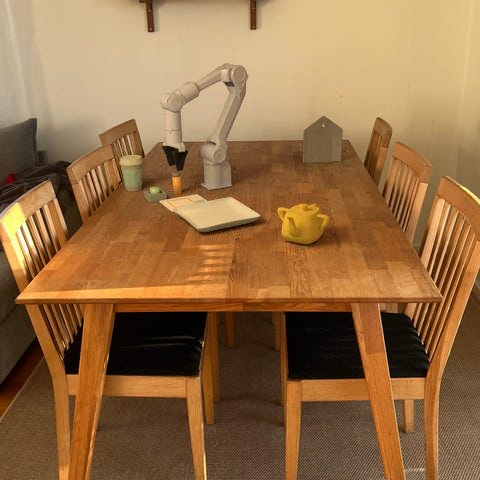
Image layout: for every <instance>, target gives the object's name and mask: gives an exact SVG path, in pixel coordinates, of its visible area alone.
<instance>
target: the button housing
mask: <svg viewBox="0 0 480 480" xmlns="http://www.w3.org/2000/svg"><path fill="white" fill-rule="evenodd" d="M143 195H144V199H145V200H147V202H148V203H156V202H160V201H161V200H167V198H168V196H167V192H165V191H164V190H163V189H161V188H160V193H159V194H153V195H151V194H150V189H149V190H143Z"/></svg>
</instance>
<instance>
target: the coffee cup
mask: <svg viewBox="0 0 480 480" xmlns="http://www.w3.org/2000/svg"><path fill="white" fill-rule="evenodd" d="M143 164H144V160H143V157H142V156H141V155H138V154H128V155H123V156H121V157H120V159H119V165H120V169H121V174H122V178H123V183H124V187H125V191H126V192H132V193H133V192H140V191H142V189H143Z"/></svg>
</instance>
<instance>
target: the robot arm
mask: <svg viewBox="0 0 480 480" xmlns="http://www.w3.org/2000/svg"><path fill="white" fill-rule="evenodd" d="M248 79H249V74H248V73H247V70H246V68H245V66H243V65H242V64H230V63H228V62H227V63H223V64H221V65H220V66H219V65H218V66H217V67H216V68H215V69H213V70H212V71H211V72H209V73H207V74H206V75H204V76H202V77H201V78H200V79H198V80H196V81H195V82H193V81H190V80H189V81H184V82H183V85H181V86H179V87H178V88H173V89H172V90H171V92H166V93H165V94H163V95H162V97H161V99H160V101H159V104H160V106H161V108H162V109H163V120H164V134H165V138H163V140H164V141H163V142H162V146H161V149H162V150H163V152H164V154H165V157H166V161H167V164H168V166H169V167H173V166H175V169H176V172H180V171H184V167H185V162H186V158H187V157H188V154H189V150H187V149H186V145H185V143H184V141H183V128H182V112H181V111H182V109H183V107H184V106H185V105H186V104H188V103H190V102H192V101H193V100H195V99H197V98H198V97H199V96H200V92H201V91H204V90H205V89H207V88H209V87H211V86H212V85H215V84H217V83H219V82H222V83H223V85H225V87H226V89H227V91H228V93H229V94H228V96H227V99H226V101H225V103H224V106H223V109H222V111H221V112H220V114H219V118H218V120H217V123H216V125H215V127H214V130H213V131H212V132H213V133H212V134H211V135H210V136H208V137H207V138H206V140H205V141H204V143H203V144H201V146H200V148H199V154H200V157H201V158H202V159H203V160H202V161H203V175H204V177H203V179H204V182H203V183H200V185H201V186H202V187H204V188H205V189H206V190H209V191H211V190H216V189H217V190H218V189H225V188H229V187H233V184H232V171H231V170H232V168H231V165H230V163H229V162H228V161H227V160H226V159H227V155H228V154H227V151H228V148H229V145H228V141H227V140H228V137H229V134H230V132H231V130H232V128H233V126H234V123H235V120H236V118H237V117H238V114H239V111H240V109H241V107H242V105H243V102H244V100H245V97H246V94H247V82H248Z"/></svg>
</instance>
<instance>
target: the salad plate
mask: <svg viewBox="0 0 480 480" xmlns="http://www.w3.org/2000/svg"><path fill="white" fill-rule="evenodd" d="M173 211H174V212H173V213H175V214H176V215H177V216H179V218H182V219H183V220H184V221H186V222H187V223H189V224H190V225H191V226H192V227H194V229H195V230H197V231H198V232H200V233H208V232H213V231H214V230H215V231H219V229H220V230H223V229H224V228H225V229H228V228H233V226H234V227H238V225H239V226H242V224H243V225H247V224H250V223H253V222H255V221H257V220H259V218H260V217H261V215H260V214H259V212H256V211H255V210H254V209H251V208H250V207H248V206H247V205H245V204H244V203H242V202H241V201H239V200H237V199H235V198H234V197H232V196H228V197H223V198H218V199H212V200H211V199H210V200H207V201H206V202H200V203H196V204H191V205H186V206H181V207H176V208H173Z"/></svg>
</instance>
